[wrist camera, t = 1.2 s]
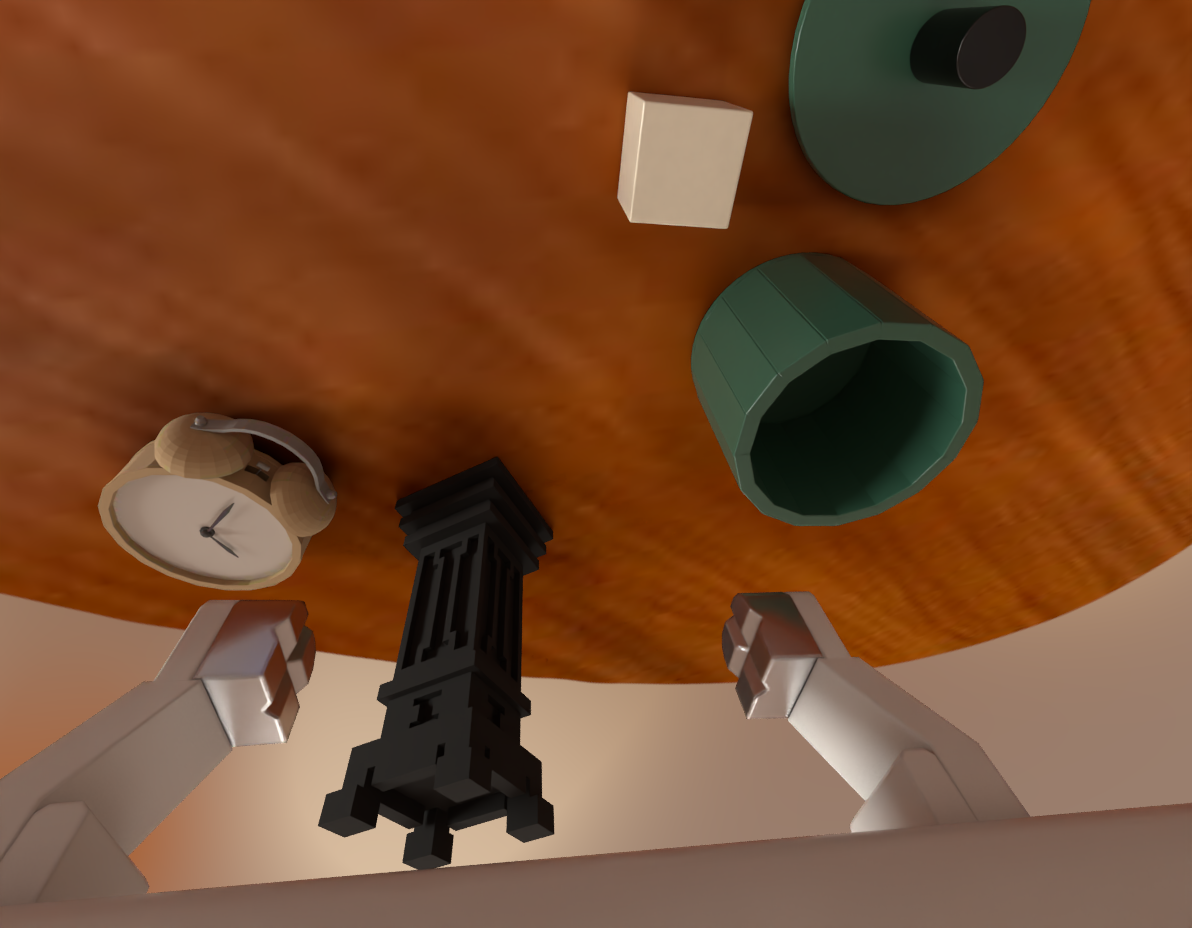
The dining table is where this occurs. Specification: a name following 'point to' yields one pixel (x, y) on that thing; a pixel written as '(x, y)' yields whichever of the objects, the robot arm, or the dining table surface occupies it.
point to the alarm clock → (218, 503)
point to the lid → (921, 87)
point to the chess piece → (455, 677)
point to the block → (681, 159)
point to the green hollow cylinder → (830, 390)
